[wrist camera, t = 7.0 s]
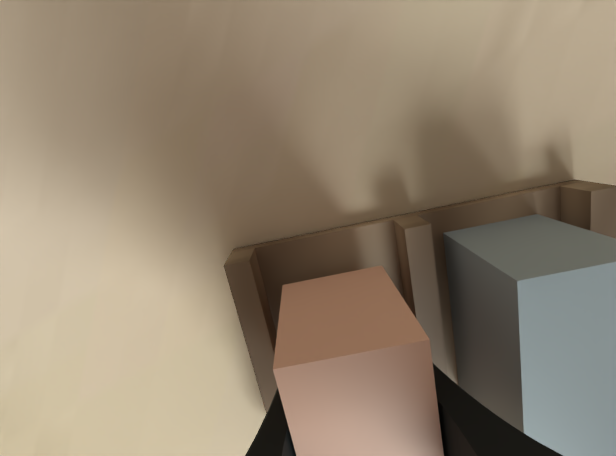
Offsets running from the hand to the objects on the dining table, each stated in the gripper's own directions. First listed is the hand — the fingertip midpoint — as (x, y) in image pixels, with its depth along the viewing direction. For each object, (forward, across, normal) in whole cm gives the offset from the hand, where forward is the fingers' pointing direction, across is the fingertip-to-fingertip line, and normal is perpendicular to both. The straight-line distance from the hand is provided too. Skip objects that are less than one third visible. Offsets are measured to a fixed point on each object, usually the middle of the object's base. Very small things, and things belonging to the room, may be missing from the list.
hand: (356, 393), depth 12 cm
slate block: (+4, -7, 0) cm, 8 cm away
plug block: (+2, 0, 0) cm, 2 cm away
